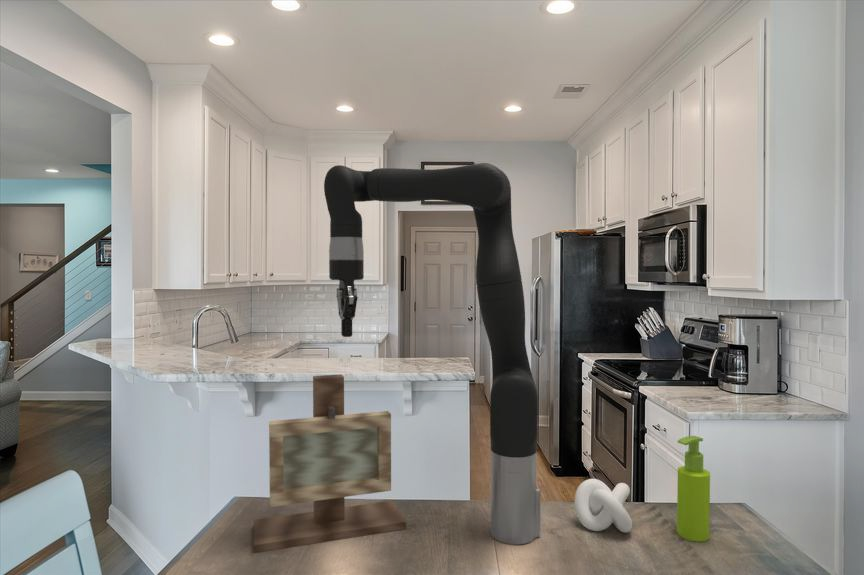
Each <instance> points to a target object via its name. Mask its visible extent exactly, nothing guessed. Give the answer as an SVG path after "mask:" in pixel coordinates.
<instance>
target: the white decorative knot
mask: <svg viewBox="0 0 864 575" xmlns="http://www.w3.org/2000/svg"><path fill="white" fill-rule="evenodd" d="M630 493H631V488H630V487H629V485H628V484H626V483H625V482H619V483H617V484H616V485H615V486H614V488H613V489H612V490H611V489H610V487H608V485H606V483H604V482H603V481H601V480H600V479H598V478H588V479H586V480H584V481H582V482H581V483H580V484H579V486H578V487H577V489H576V491H575V495H574V502H573V503H574V511H575V514H576V516H577V519H578V521H579V522H580V523H581V525H583V527H585V528H586V529H588V530H590V531H592V532H593V531H594V532H601V531H604V530H606V529H608V528H609V527H610V526H611V525H612V524H613V525H614V526H615V527H616V529H617V530H618V531H620V532H622V533H625V534H627V533H630V532H631V531H632V530H633V521H632V518H631V516H630V515H629V513H628V511H627V510H626V508H625V507H624V506H623V505H624V503H625V502H626V500H627V499H628V497H629V495H630Z"/></svg>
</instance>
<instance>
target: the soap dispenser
mask: <svg viewBox="0 0 864 575" xmlns="http://www.w3.org/2000/svg"><path fill="white" fill-rule="evenodd" d="M676 441H677V443H678V444H681V445H684V446H688V445H689V449H688V450H687V451H685V452H684V465H682V466H681V465H680V466H679V467H678V468H677V499H676V501H677V505H676V509H677V510H676V512H677V513H676V534H677V535H678V536H679V537H681V538H683V539H684V540H688V541H690V542H691V541H692V542H697V543H699V542H700V543H702V542H707V541H708V540H709V539H710V509H711V508H710V506H711V505H710V504H711V502H710V501H711V500H710V499H711V493H710V492H711V473H710V471H709V470H707V469H705V468H704V454H703V453H701V452H700V442H704V438H702V437H699V436H697V435H690V436H684V437H682V438H680V439H678V440H676Z"/></svg>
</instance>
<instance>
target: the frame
mask: <svg viewBox="0 0 864 575" xmlns="http://www.w3.org/2000/svg"><path fill="white" fill-rule="evenodd" d="M268 432H269V433H268V436H269V437H268V440H269V442H268V446H269V448H268V449H269V450H268V453H269V459H268V460H269V507H270V508H272V507H273V508H274V507H280V506H288V505H293V504H295V505H296V504H301V503H302V504H303V503H308V502H309V503H310V502H314V501H318V500H326V499H333V498H341V497H344V498H346V497H355V496H361V495H362V496H363V495H368V494H377V493H383V492H391V491H392V413H391V412H390V411H388V410H386V411H385V410H384V411H383V410H382V411H374V412H373V411H372V412H362V413H348V414H344V415H336V416H335V408H334V407H333V406H328V416H324V417H313V416H312V417H304V418H303V417H302V418H301V417H300V418H292V419H290V418H289V419H280V420H279V419H278V420H269V421H268Z"/></svg>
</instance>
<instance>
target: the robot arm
mask: <svg viewBox="0 0 864 575" xmlns="http://www.w3.org/2000/svg"><path fill="white" fill-rule="evenodd" d="M323 190H324V197H325V201H326V206H327V211H328V214H329V218H330V221H329V222H330V224H329V225H330V227H329V233H330V234H329V237H330V240H329V248H328V253H329V255H328V256H329V257H328V259H329V261H328V264H329V265H328V266H329V267H328V272H329V280H332V281H339V285H338V288H336V301H337V302H336V303H337V308H338V316H339V318H340V321H341V322H340V323H341V324H340V326H341V328H340V330H341V331H340V332H341V337H343V338H351V337H352V336H353V320H354V318H355V316H356V311H357V303H358V298H359V297H358V289H357V288H355V281H363V279H364V276H365V275H364V269H365V268H364V266H365V264H364V257H365V256H364V242H363V219H362V218H363V217H362V215H361V213H360V212H359V211H358V210H357V208H356V204H355V202H358V203H359V202H361V203H362V202H373V201H374V202H375V201H378V202H387V203H388V202H389V203H390V202H392V203H393V202H394V203H408V202H411V203H412V202H423V201H443V202H450V203H457V204H462V205H464V206H465V205H466V206H469V207H471V208H472V210H473V215H474V217H475V223H476V228H477V229H476V230H477V238H478V239H477V240H478V246H477V255H476V256H477V257H476V265H475V283H476V291H477V298H478V305H479V310H480V314H481V319H482V323H483V326H484V329H485V332H486V335H487V338H488V342H489V347H490V356H491V370H492V382H491V389H490V393H489V394H490V395H489V397H490V398H489V399H490V401H489V418H490V419H489V428H490V429H489V436H490V506H489V507H490V513H489V515H490V520H489V525H490V529H489V530H490V531H489V532H490V535H491V537H492V538H493V539H495V540H497V541H499V542H500V543H504V544H509V545H525V544H529V543H531V542H533V541H534V540H535V539H536V538H539V537H541V490H540V488H539V487H537V472H538V471H537V462H538V461H537V459H538V458H537V451H538V450H537V447H538V418H539V416H538V415H539V414H538V413H539V411H538V410H539V409H538V408H539V406H538V405H539V404H538V403H539V401H538V400H539V399H538V391H537V386H536V383H535V380H534V377H533V373H532V370H531V365H530V362H529V356H528V352H527V347H526V346H527V345H526V308H525V307H526V305H525V293H524V286H523V281H522V272H521V268H520V262H519V257H518V250H517V247H516V243H515V238H514V232H513V223H512V222H513V221H512V187H511V183H510V179H509V177H508V176H507V175H506V173H505V172H504V171H503V170H502V169H500V168H498V167H497V166H495V165H494V164H491V163H488V162H479V163H473V164H467V165H462V166H461V165H460V166H456V167H450V168H436V169H435V168H433V169H426V168H425V169H421V168H420V169H419V168H417V169H416V168H396V167H395V168H389V167H383V168H382V167H380V168H379V167H378V168H375V169H372V170H368V171H365V170H356V169H354V168H351V167H348V166H345V165H339V164H337V165H334V166H332V167H331V168H330V169H328V171H327V172H326V174H325V178H324V182H323Z"/></svg>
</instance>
